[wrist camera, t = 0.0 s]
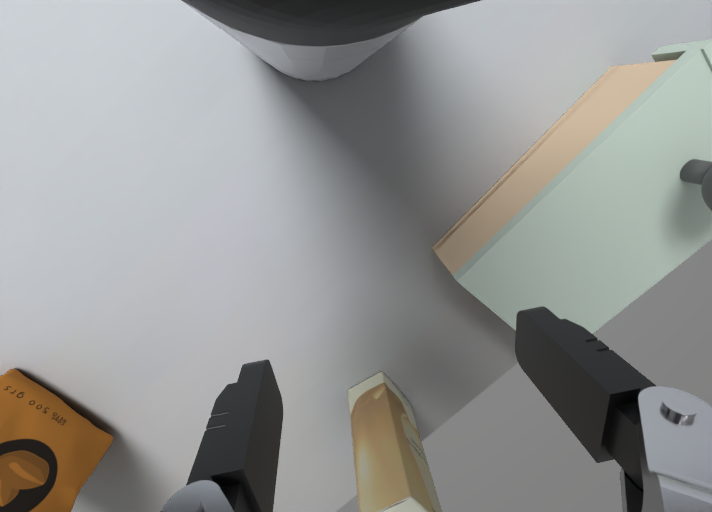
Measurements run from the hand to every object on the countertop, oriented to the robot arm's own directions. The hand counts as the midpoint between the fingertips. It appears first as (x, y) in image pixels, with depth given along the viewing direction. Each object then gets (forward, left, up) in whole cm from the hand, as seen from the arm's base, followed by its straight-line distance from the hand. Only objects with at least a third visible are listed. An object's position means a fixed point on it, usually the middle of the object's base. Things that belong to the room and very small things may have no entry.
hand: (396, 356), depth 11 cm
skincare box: (+21, 0, -17) cm, 27 cm away
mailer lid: (+4, +17, -14) cm, 23 cm away
